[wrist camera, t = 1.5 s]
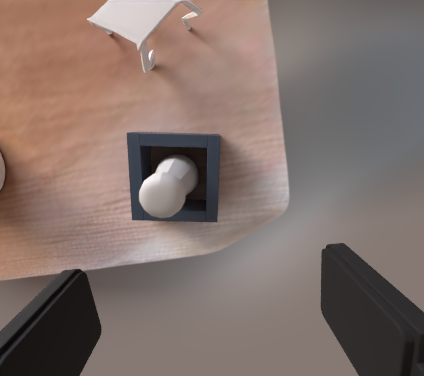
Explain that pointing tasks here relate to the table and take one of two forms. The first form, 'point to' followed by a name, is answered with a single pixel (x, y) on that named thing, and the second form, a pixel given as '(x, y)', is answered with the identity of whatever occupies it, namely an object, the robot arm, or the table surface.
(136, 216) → the holder
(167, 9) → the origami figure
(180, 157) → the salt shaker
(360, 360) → the robot arm
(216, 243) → the table surface
